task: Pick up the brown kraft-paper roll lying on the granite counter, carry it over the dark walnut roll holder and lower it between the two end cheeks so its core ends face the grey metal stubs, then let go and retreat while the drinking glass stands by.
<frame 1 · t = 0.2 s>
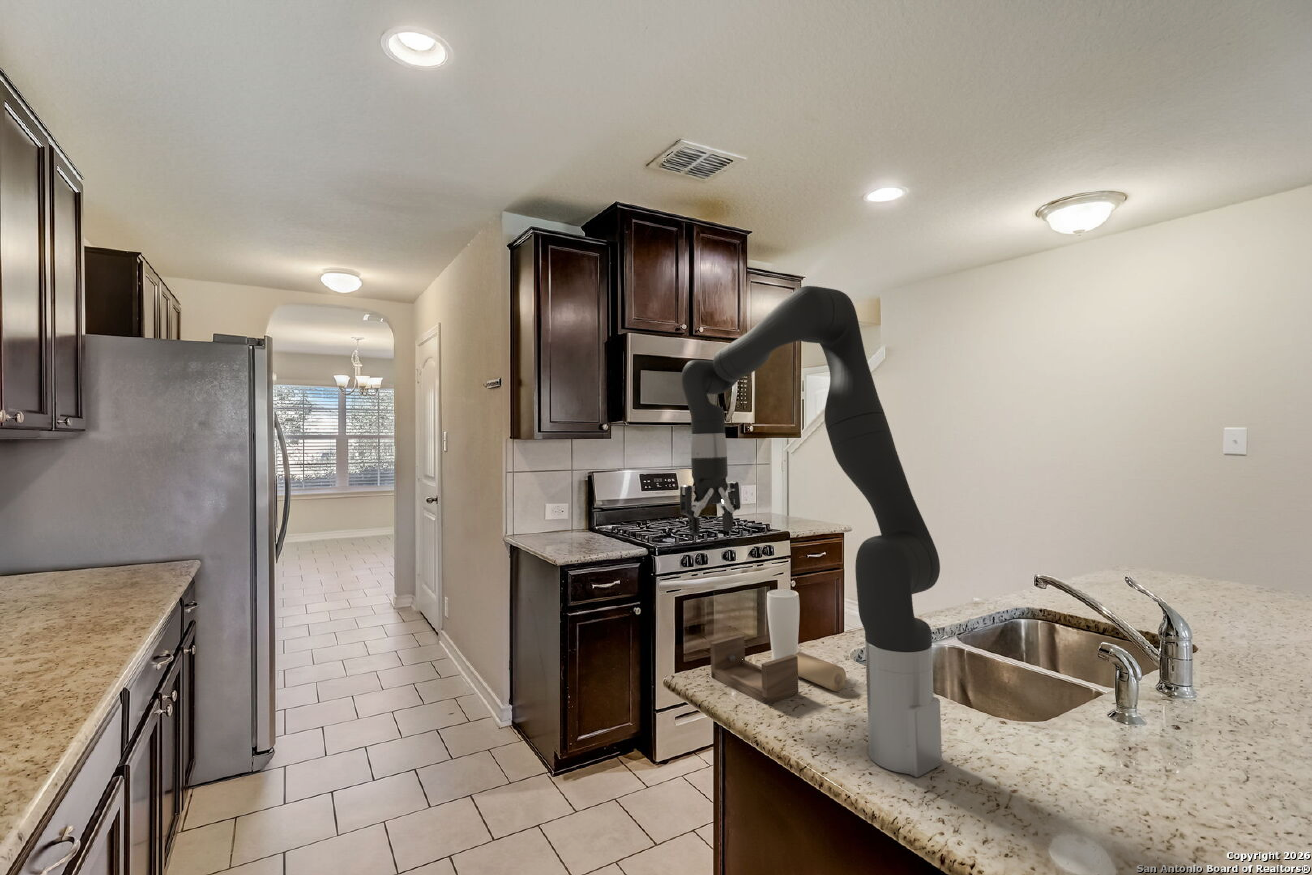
hand: (711, 533, 128), 29 cm above the worktop, tool pointing down, fingers open, 8 cm apart
roll: (818, 682, 120), on the worktop
drinking glass: (784, 664, 130), on the worktop
holder: (753, 684, 119), on the worktop
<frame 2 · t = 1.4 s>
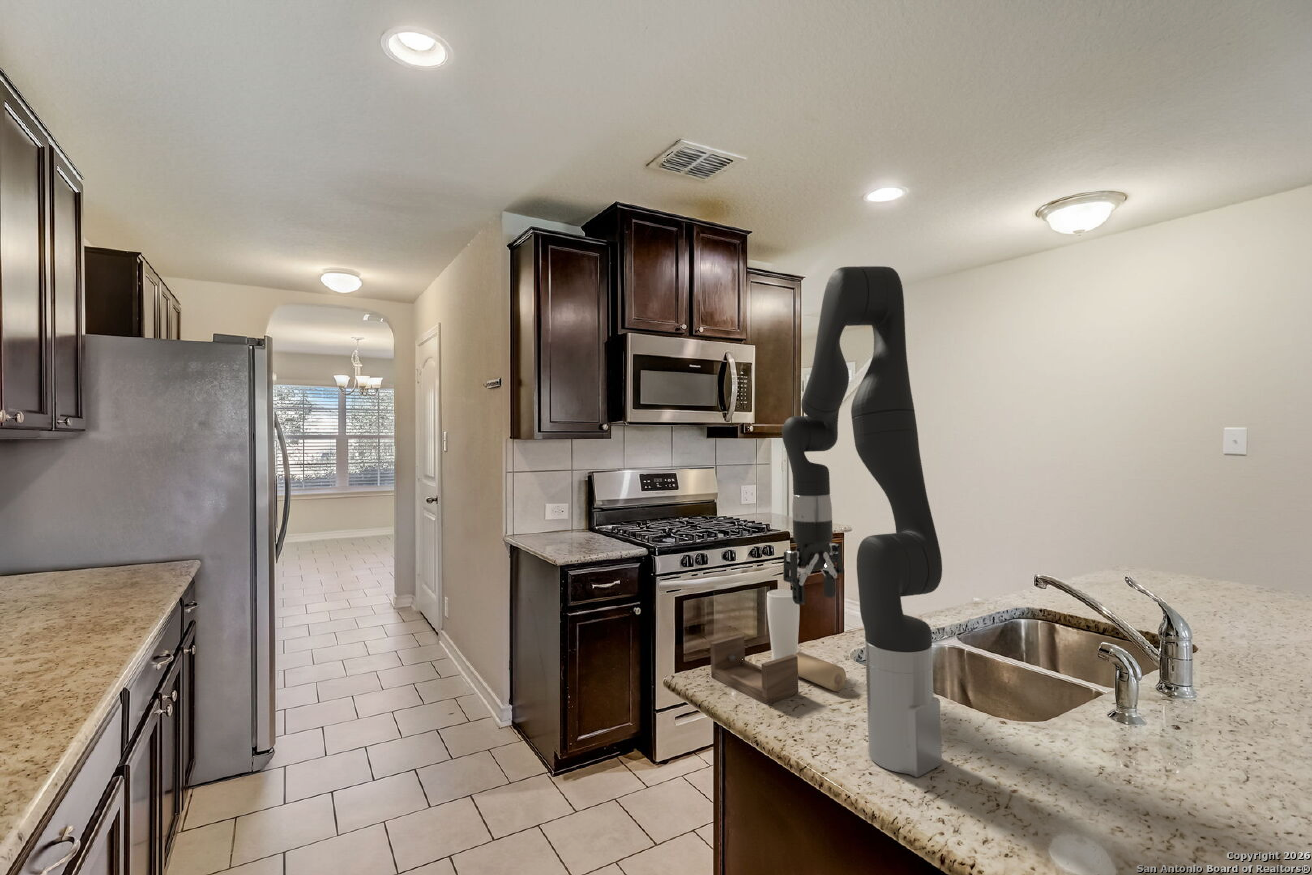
hand: (814, 600, 120), 16 cm above the worktop, tool pointing down, fingers open, 8 cm apart
nothing on the worktop moved.
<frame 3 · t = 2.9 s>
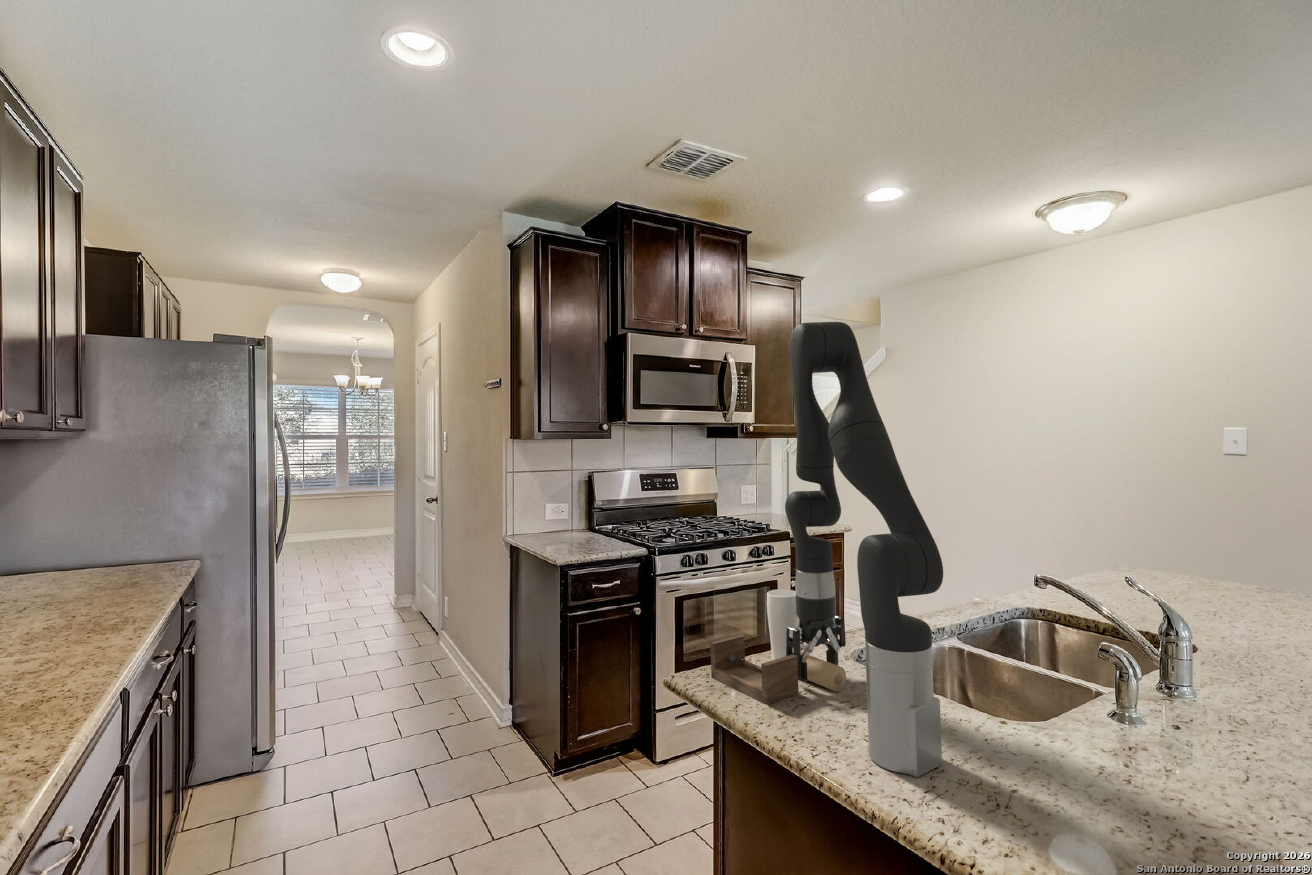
hand: (817, 674, 120), 1 cm above the worktop, tool pointing down, fingers open, 8 cm apart
nothing on the worktop moved.
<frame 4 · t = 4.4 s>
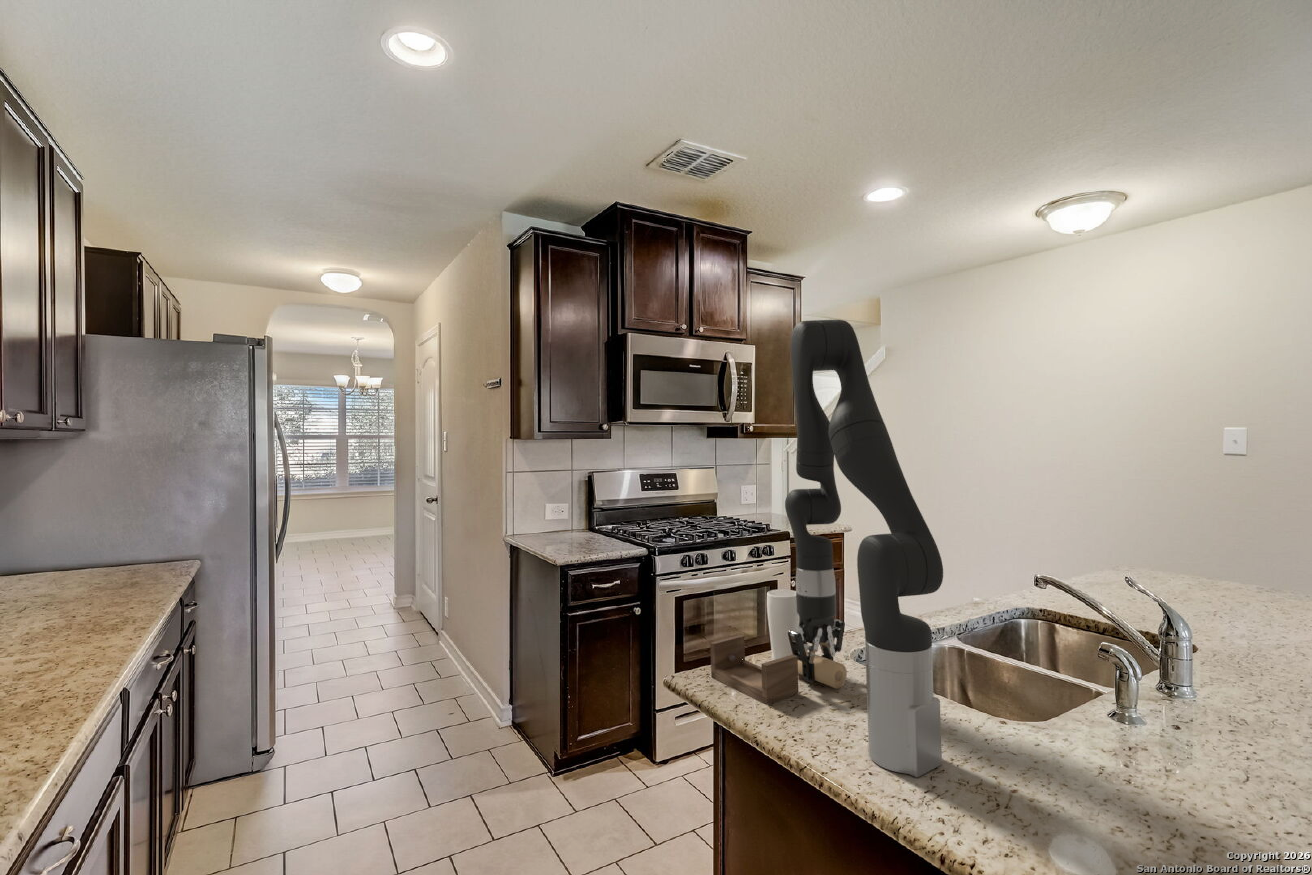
hand: (818, 677, 120), 1 cm above the worktop, tool pointing down, fingers closed on roll, 4 cm apart
roll: (818, 680, 120), on the worktop, touching gripper
everything else where it was.
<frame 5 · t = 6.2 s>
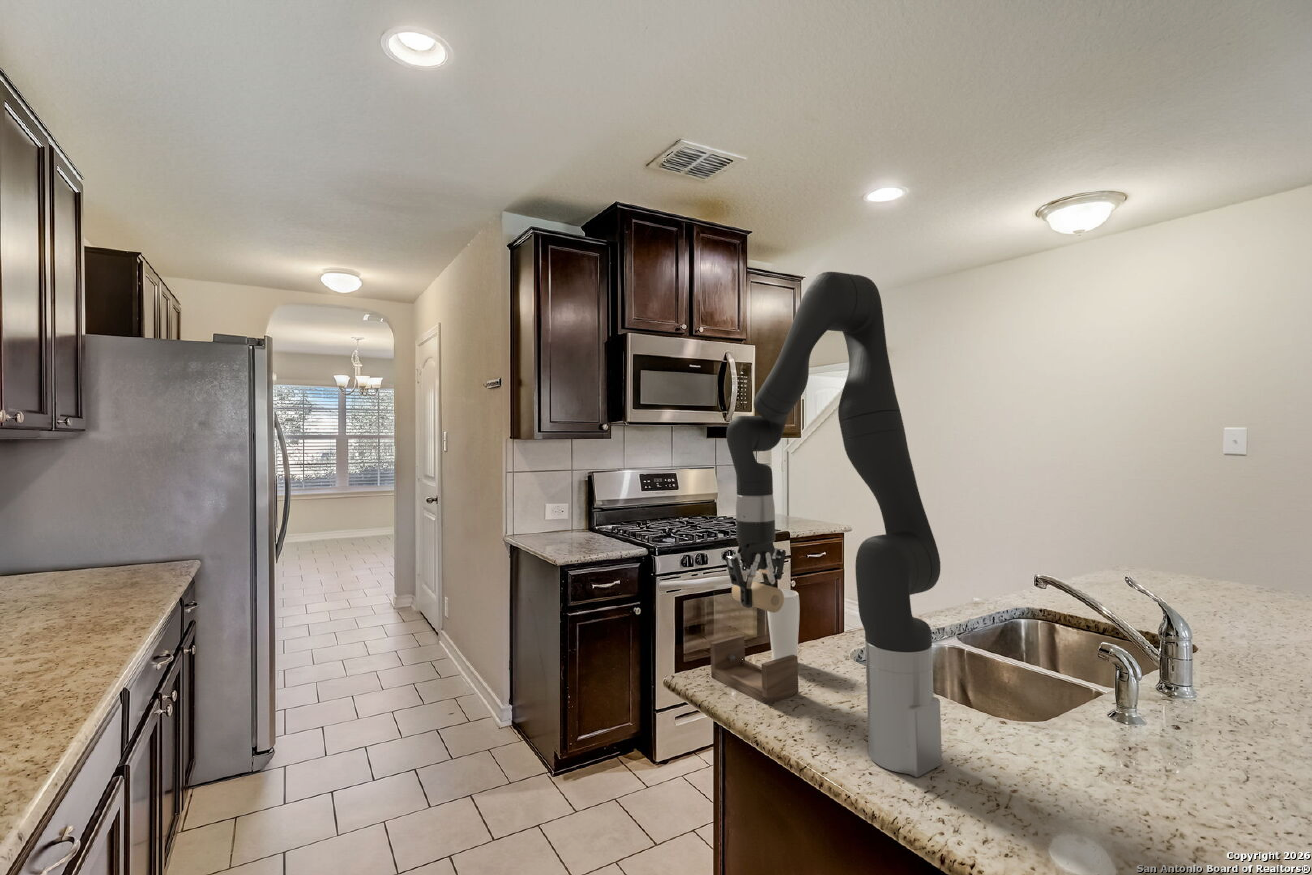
hand: (757, 604, 120), 16 cm above the worktop, tool pointing down, fingers closed on roll, 4 cm apart
roll: (757, 606, 120), point 15 cm above the worktop, touching gripper
everything else where it was.
when the fingers open (3 cm above the worktop, at t = 8.5 s): roll stays where it is, resting on holder.
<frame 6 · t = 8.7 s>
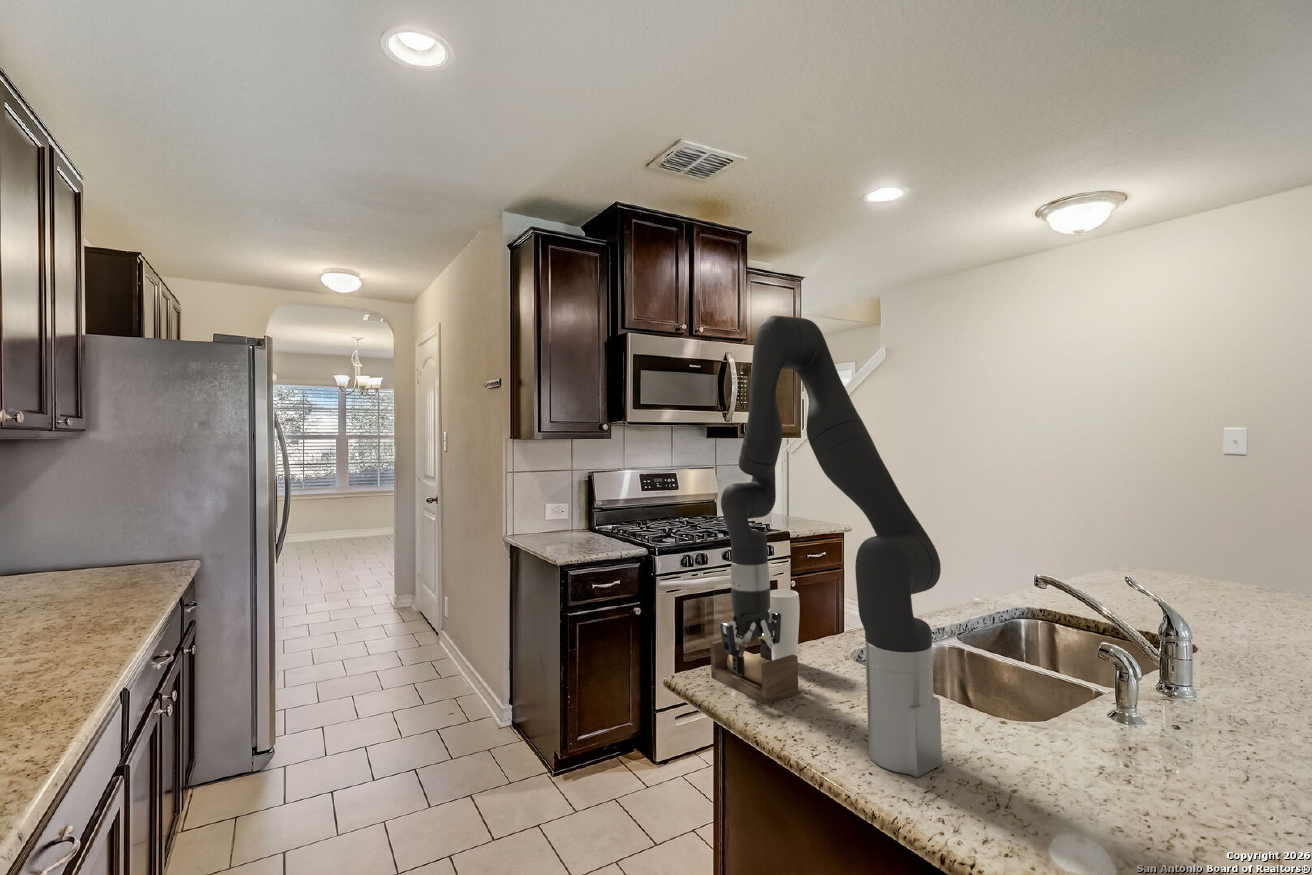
hand: (752, 670, 119), 3 cm above the worktop, tool pointing down, fingers open, 6 cm apart
roll: (753, 678, 119), point 1 cm above the worktop, touching holder
everything else where it was.
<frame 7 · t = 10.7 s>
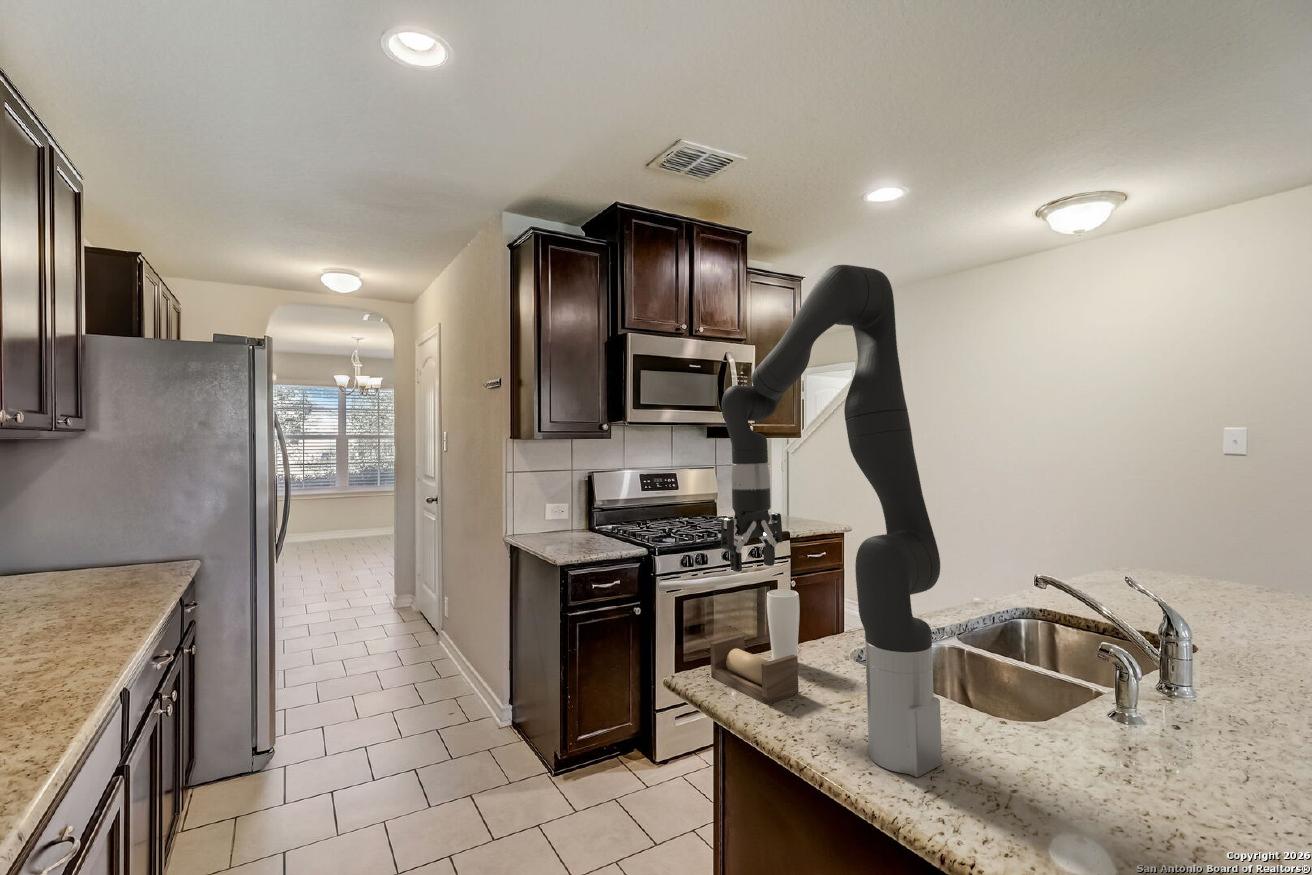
hand: (753, 568, 121), 22 cm above the worktop, tool pointing down, fingers open, 8 cm apart
nothing on the worktop moved.
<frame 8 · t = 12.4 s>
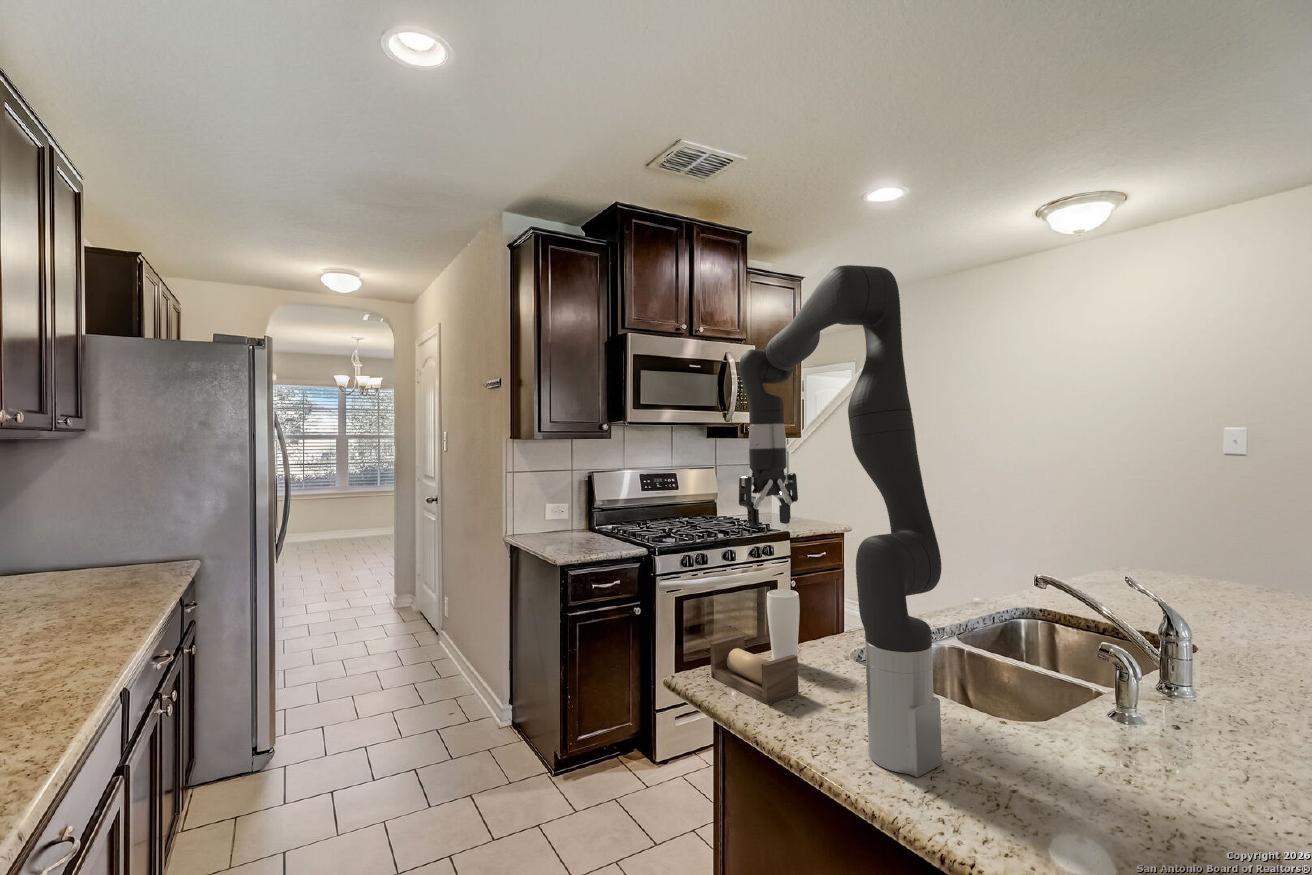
hand: (769, 525, 126), 30 cm above the worktop, tool pointing down, fingers open, 8 cm apart
nothing on the worktop moved.
at the end: roll 0.0 cm off-centre on the holder, point 1.2 cm above the holder's base; the gripper is holding nothing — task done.
